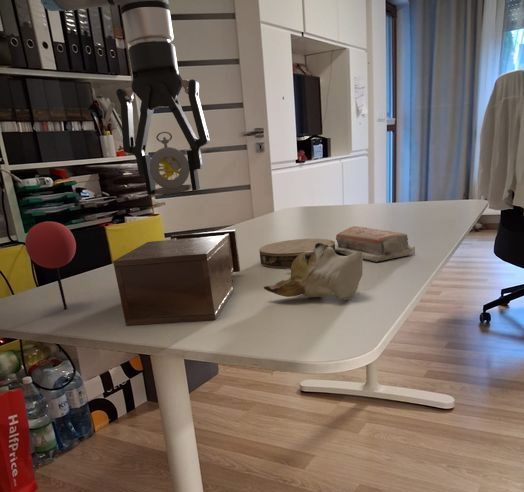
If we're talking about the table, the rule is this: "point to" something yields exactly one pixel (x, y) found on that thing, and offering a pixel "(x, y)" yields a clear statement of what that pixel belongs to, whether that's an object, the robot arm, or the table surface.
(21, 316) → the table surface
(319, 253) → the ceramic sculpture
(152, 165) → the pocket watch
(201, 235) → the drawer
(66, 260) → the lollipop
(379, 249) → the old brick
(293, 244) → the tambourine
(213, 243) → the wooden box
